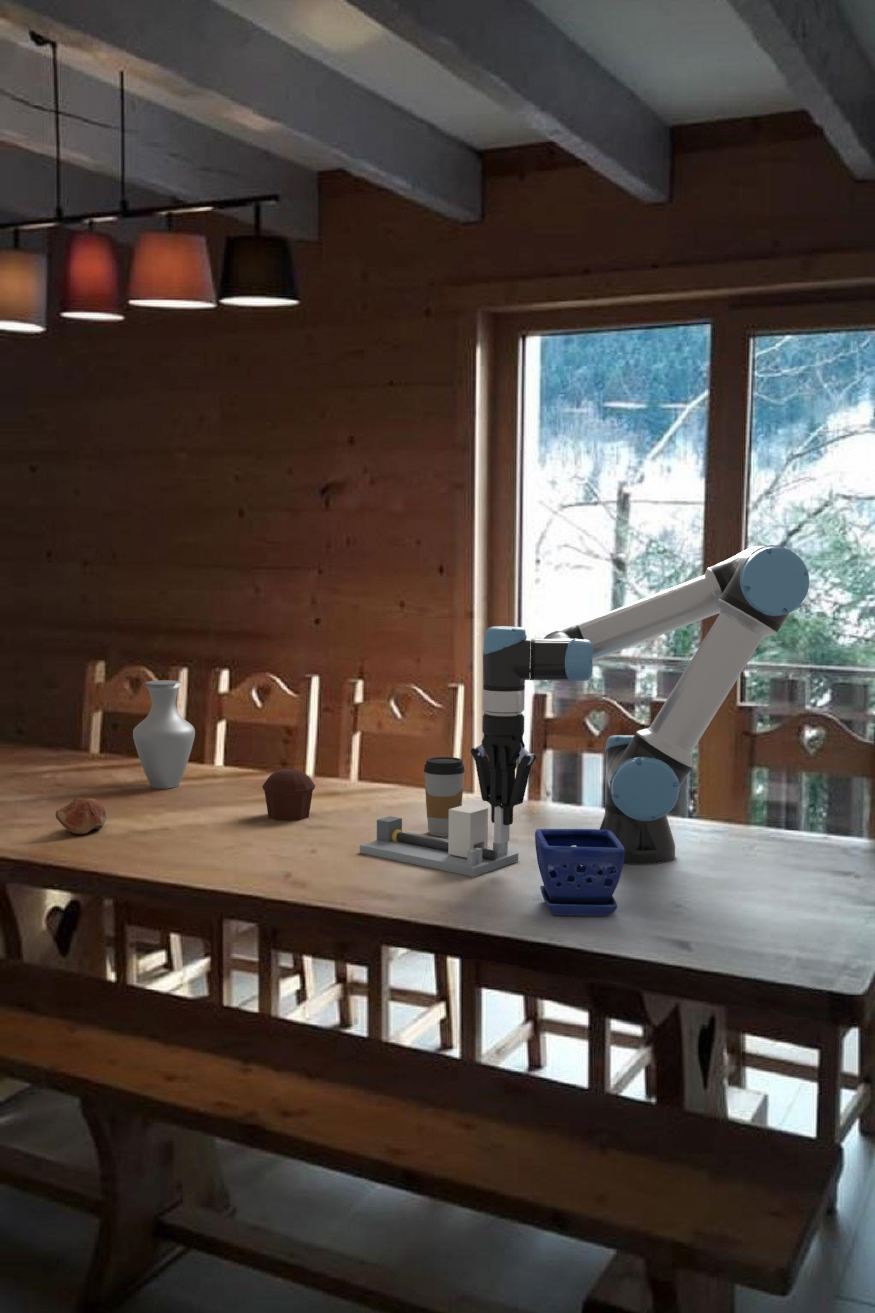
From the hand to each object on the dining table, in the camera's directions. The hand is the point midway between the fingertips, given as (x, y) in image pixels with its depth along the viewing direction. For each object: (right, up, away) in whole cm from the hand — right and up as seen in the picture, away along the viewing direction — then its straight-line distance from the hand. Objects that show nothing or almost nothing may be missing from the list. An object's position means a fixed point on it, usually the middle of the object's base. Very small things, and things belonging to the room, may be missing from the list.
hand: (501, 841), depth 236 cm
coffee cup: (-10, -3, +29) cm, 31 cm away
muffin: (-43, -1, +43) cm, 61 cm away
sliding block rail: (-12, -4, +9) cm, 16 cm away
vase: (-76, +2, +74) cm, 106 cm away
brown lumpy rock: (-84, -2, +28) cm, 88 cm away
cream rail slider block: (-6, -3, +5) cm, 8 cm away
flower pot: (+11, -8, -23) cm, 27 cm away
